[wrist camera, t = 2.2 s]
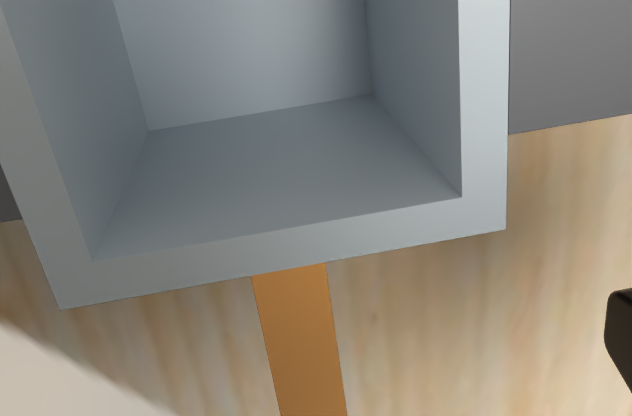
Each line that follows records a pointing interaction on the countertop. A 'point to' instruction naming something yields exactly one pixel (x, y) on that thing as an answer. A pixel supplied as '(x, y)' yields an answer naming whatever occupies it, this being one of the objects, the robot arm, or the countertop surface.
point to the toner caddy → (251, 149)
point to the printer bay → (544, 68)
